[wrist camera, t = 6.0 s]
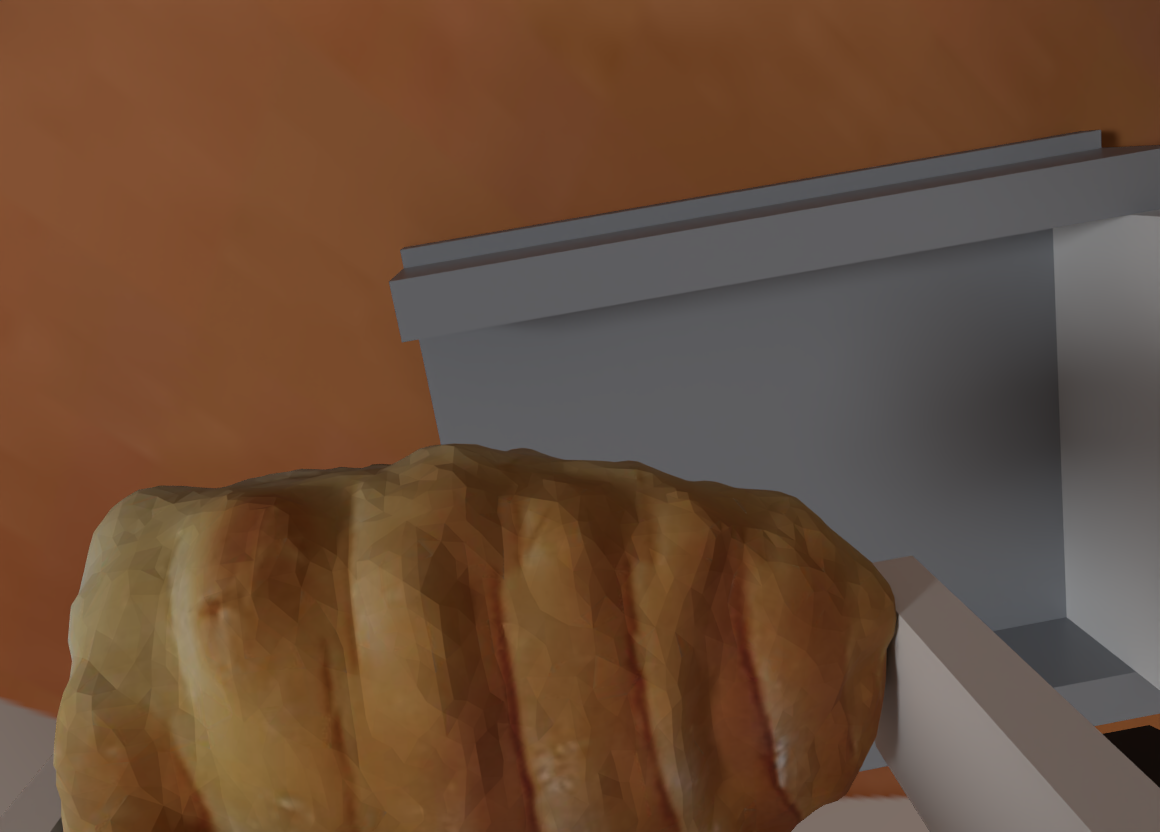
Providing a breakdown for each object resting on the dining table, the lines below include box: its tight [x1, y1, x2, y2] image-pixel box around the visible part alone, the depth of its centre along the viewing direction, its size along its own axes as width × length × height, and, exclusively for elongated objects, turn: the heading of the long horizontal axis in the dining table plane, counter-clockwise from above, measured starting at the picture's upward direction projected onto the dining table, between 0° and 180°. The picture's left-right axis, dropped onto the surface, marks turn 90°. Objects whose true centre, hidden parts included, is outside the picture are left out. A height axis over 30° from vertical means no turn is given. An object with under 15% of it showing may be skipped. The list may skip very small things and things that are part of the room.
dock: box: [389, 130, 1160, 771], centre depth 27 cm, size 20×17×6 cm
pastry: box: [53, 443, 897, 832], centre depth 11 cm, size 9×7×4 cm
